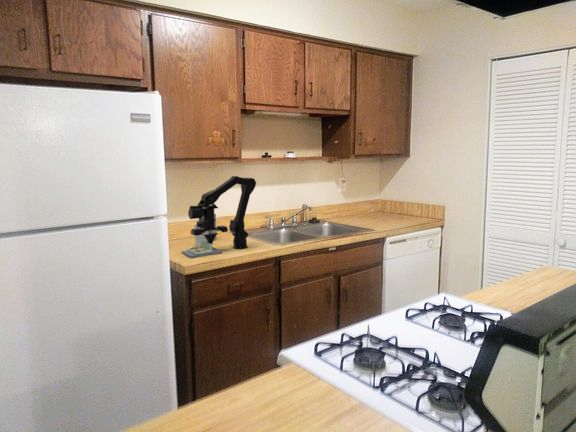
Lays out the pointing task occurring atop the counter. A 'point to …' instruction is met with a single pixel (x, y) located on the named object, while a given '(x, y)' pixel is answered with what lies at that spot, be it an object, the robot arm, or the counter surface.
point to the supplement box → (199, 238)
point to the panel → (206, 247)
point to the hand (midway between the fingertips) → (210, 246)
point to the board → (192, 255)
